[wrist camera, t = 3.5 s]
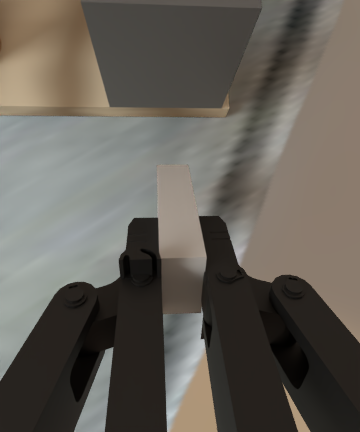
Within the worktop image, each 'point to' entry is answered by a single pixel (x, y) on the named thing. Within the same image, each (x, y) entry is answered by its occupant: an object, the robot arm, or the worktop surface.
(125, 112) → the birch board
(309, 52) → the worktop surface
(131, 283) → the robot arm
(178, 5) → the grey box with label
